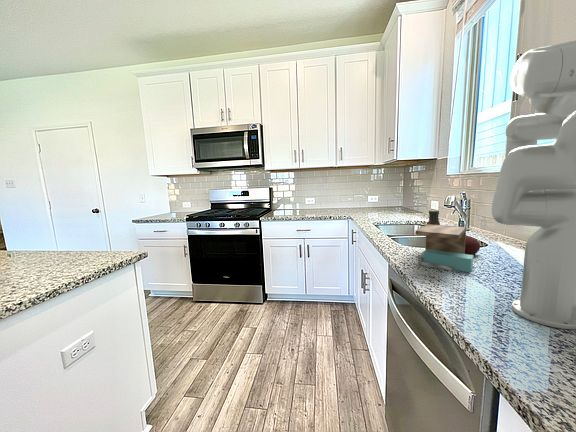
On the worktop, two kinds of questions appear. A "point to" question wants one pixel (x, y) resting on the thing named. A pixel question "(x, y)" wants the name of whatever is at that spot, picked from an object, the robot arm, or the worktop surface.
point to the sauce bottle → (433, 219)
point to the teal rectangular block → (449, 259)
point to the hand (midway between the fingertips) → (515, 215)
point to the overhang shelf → (442, 241)
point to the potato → (471, 245)
